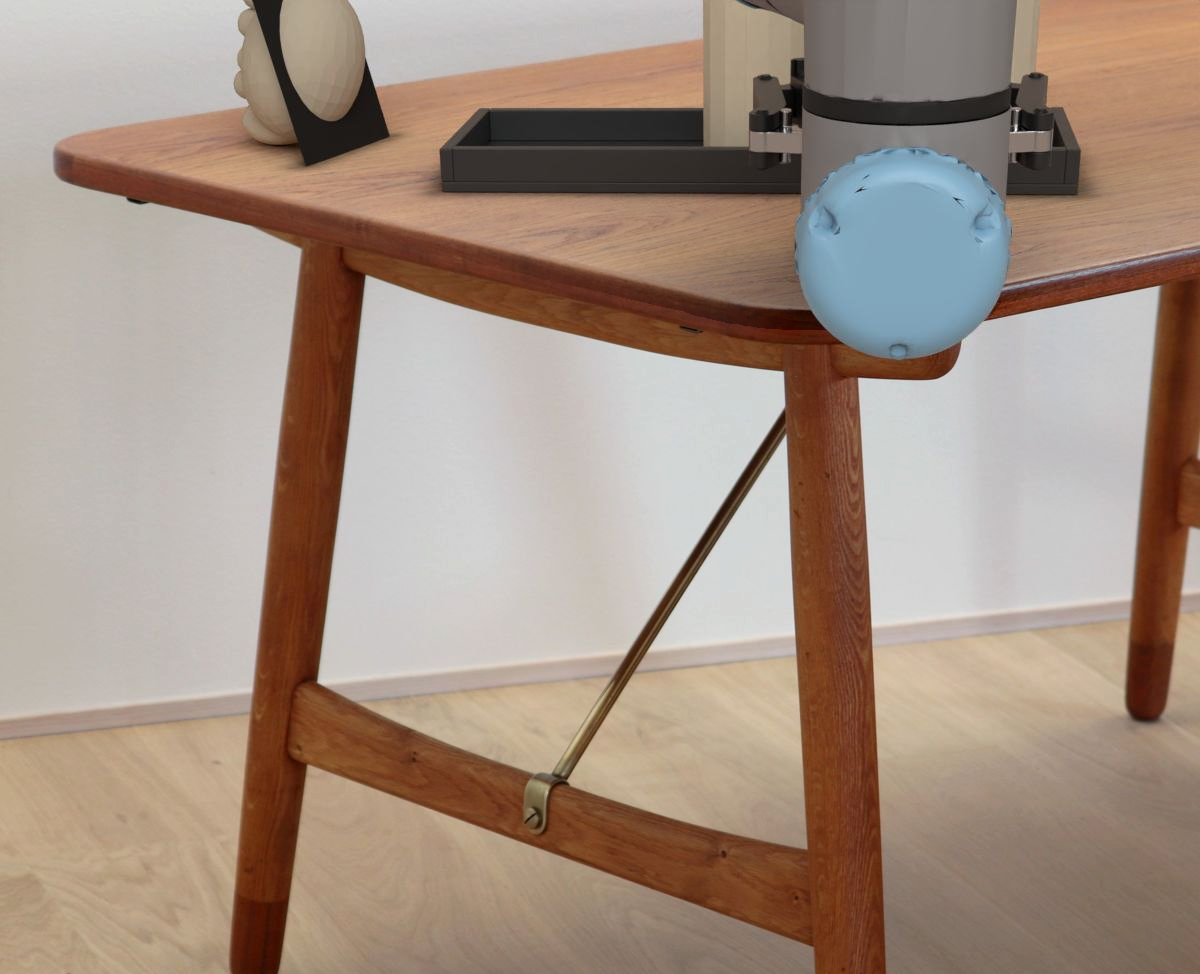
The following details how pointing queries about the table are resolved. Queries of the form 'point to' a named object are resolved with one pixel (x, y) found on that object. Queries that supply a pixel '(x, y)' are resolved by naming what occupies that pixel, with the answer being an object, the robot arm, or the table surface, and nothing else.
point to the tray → (652, 155)
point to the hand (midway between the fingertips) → (897, 73)
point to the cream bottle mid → (741, 64)
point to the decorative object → (307, 77)
